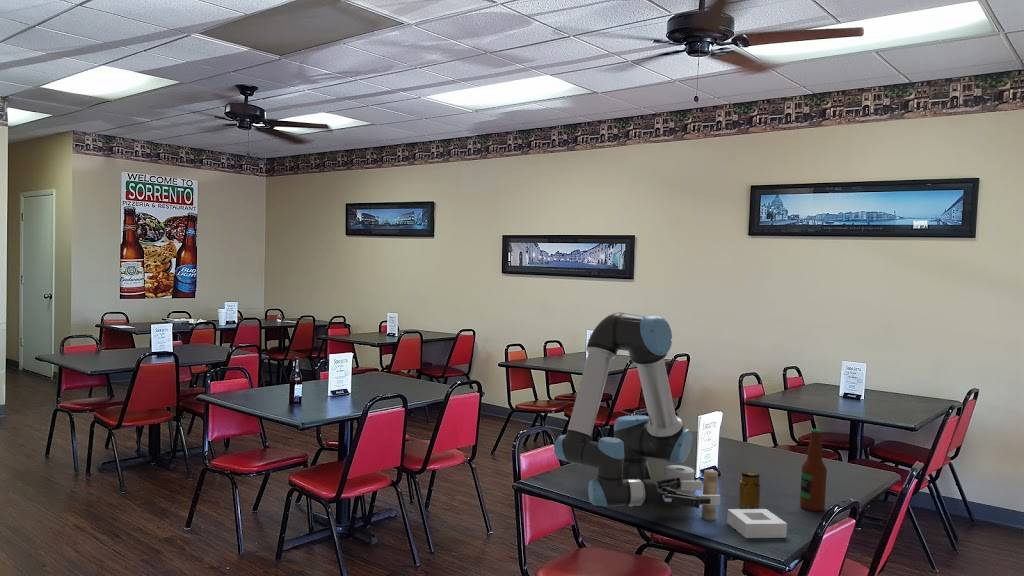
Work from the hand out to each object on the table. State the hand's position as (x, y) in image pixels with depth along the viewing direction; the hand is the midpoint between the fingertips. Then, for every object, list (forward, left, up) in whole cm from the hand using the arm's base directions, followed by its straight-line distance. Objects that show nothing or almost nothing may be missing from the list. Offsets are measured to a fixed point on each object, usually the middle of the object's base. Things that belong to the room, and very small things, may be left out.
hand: (710, 492), depth 216 cm
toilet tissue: (-24, 0, -8) cm, 25 cm away
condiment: (-6, +16, -8) cm, 19 cm away
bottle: (-9, +38, -8) cm, 40 cm away
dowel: (-1, 0, -8) cm, 8 cm away
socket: (+9, +10, -8) cm, 16 cm away
